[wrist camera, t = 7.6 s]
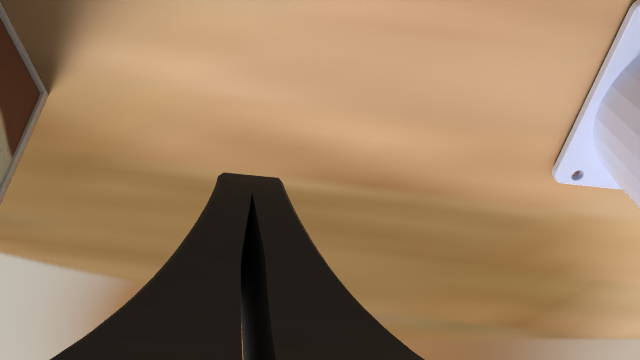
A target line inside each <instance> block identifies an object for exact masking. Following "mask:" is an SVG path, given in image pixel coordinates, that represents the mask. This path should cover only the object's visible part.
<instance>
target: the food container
mask: <svg viewBox="0 0 640 360" xmlns="http://www.w3.org/2000/svg"><path fill="white" fill-rule="evenodd" d="M48 95H49V94H48V92H47V90H46V89H45V87H44V85H43V83H42V81H41V79H40V77H39V75H38V73H37V71H36V69H35V67H34V66H33V64H32V62H31V60H30V58H29V56H28V54H27V52H26V50H25V48H24V46H23V44H22V43H21V41H20V39H19V37H18V35H17V33H16V31H15V29H14V27H13V25H12V23H11V22H10V20H9V18H8V16H7V14H6V12H5V10H4V8H3V6H2V4H1V2H0V204H1V202H2V200H3V197H4V195H5V193H6V190H7V188H8V186H9V184H10V181H11V179H12V177H13V175H14V172H15V170H16V168H17V166H18V163H19V161H20V159H21V157H22V154H23V152H24V150H25V148H26V145H27V143H28V141H29V138H30V136H31V134H32V132H33V129H34V127H35V125H36V123H37V120H38V118H39V116H40V114H41V111H42V109H43V107H44V105H45V102H46V100H47V98H48Z"/></svg>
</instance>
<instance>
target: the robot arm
mask: <svg viewBox="0 0 640 360" xmlns="http://www.w3.org/2000/svg"><path fill="white" fill-rule="evenodd" d="M576 171H579V172H578V173H577V174H575V175H572V174H573V173H574V172H576ZM552 175H553V177H554V178H555V180H556V181H557V182H559V183H563V184H573V185H583V186H593V187H603V188H612V189H622V190H624V191H625V192H626V194H627V195H628V196H629V197H630V198H631V199H632V200H633V202H634V203H635V204H636V205H637V206H638V207H639V208H640V0H637V1H635V2H634V3H633V4H632V6H631V7H630V9H629V11H628V13H627V15H626V17H625V19H624V21H623V23H622V25H621V27H620V29H619V32H618V34H617V36H616V38H615V40H614V42H613V44H612V46H611V48H610V50H609V52H608V55H607V57H606V59H605V61H604V63H603V65H602V67H601V69H600V71H599V73H598V75H597V78H596V80H595V82H594V84H593V86H592V88H591V90H590V92H589V94H588V96H587V98H586V100H585V103H584V105H583V107H582V109H581V111H580V113H579V115H578V117H577V119H576V121H575V123H574V126H573V128H572V130H571V132H570V134H569V136H568V138H567V140H566V142H565V144H564V146H563V149H562V151H561V153H560V155H559V157H558V159H557V161H556V163H555V165H554V167H553V170H552ZM241 322H242V334H241ZM241 336H242V337H241ZM242 339H243V356H244V360H424V359H423V358H421V357H420V356H418V355H417V354H415V353H414V352H413V351H411V350H410V349H409V348H408V347H407V346H406V345H404V344H403V343H402V342H401V341H399V340H398V339H397V338H396V337H395V336H393V335H392V334H391V333H390V332H389V331H388V330H386V329H385V328H384V327H383V326H382V325H381V324H380V323H379V322H378V321H377V320H376V319H375V318H374V317H373V316H372V315H371V314H370V313H369V312H368V311H366V310H365V309H364V308H363V307H362V306H361V305H360V304H359V302H358V301H357V300H356V299H355V298H354V297H353V296H352V295H351V294H350V292H349V291H348V290H347V289H346V288H345V286H344V285H343V284H342V283H341V282H340V280H339V279H338V278H337V277H336V275H335V274H334V273H333V271H332V270H331V269H330V267H329V266H328V265H327V263H326V262H325V260H324V259H323V257H322V256H321V254H320V253H319V251H318V250H317V248H316V247H315V245H314V244H313V242H312V240H311V239H310V237H309V235H308V234H307V232H306V230H305V229H304V227H303V225H302V223H301V222H300V220H299V218H298V216H297V214H296V212H295V210H294V208H293V206H292V204H291V202H290V200H289V198H288V195H287V193H286V191H285V188H284V186H283V183H282V182H281V180H280V179H279V178H274V177H263V176H253V175H243V174H233V173H222V174H221V175H219V176H218V179H217V183H216V186H215V188H214V191H213V193H212V195H211V197H210V199H209V201H208V203H207V205H206V207H205V209H204V210H203V212H202V213H201V215H200V217H199V218H198V220H197V222H196V223H195V225H194V226H193V228H192V229H191V231H190V232H189V234H188V235H187V236H186V238H185V239H184V240H183V242H182V243H181V245H180V246H179V247H178V249H177V250H176V251H175V253H174V254H173V255H172V256H171V257H170V259H169V260H168V261H167V262H166V263H165V265H164V266H163V267H162V268H161V269H160V270H159V271H158V272H157V273H156V275H155V276H154V277H153V278H152V279H151V280H150V281H149V282H148V283H147V284H146V285H145V286H144V287H143V288H142V289H141V290H140V291H139V292H138V293H137V294H136V295H135V296H134V297H133V298H131V299H130V300H129V301H128V302H127V303H126V304H125V305H124V306H123V307H121V308H120V309H119V310H118V311H116V313H114V314H113V315H111V316H110V317H109V318H108V319H106V320H105V321H104V322H103V323H102V324H100V325H99V326H98V327H97V328H95V329H94V330H93V331H92V332H90V333H89V334H87V335H86V336H85V337H83V338H82V339H80V340H79V341H77V342H76V343H74V344H73V345H72V346H70V347H68V348H67V349H65V350H64V351H62V352H61V353H60V354H58V355H56V356H55V357H53V358H52V359H50V360H242Z"/></svg>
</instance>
